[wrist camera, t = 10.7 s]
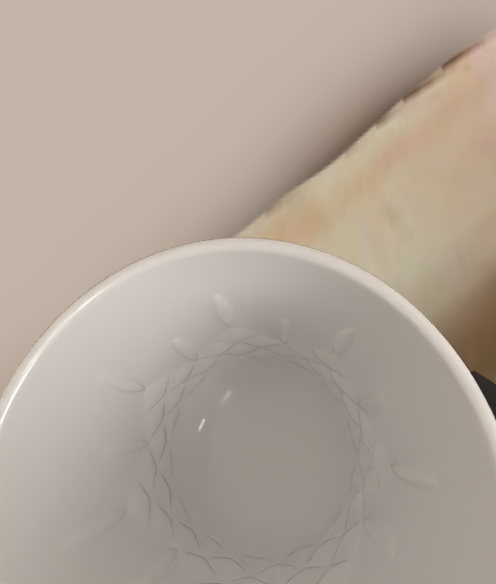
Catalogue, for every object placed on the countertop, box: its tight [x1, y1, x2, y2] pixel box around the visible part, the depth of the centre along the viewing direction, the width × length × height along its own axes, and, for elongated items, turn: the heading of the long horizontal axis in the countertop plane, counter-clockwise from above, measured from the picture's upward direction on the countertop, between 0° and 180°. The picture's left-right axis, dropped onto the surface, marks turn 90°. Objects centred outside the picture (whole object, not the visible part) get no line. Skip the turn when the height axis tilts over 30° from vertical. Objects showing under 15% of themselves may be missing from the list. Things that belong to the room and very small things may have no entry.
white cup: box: [0, 238, 496, 584], centre depth 10 cm, size 8×8×10 cm
